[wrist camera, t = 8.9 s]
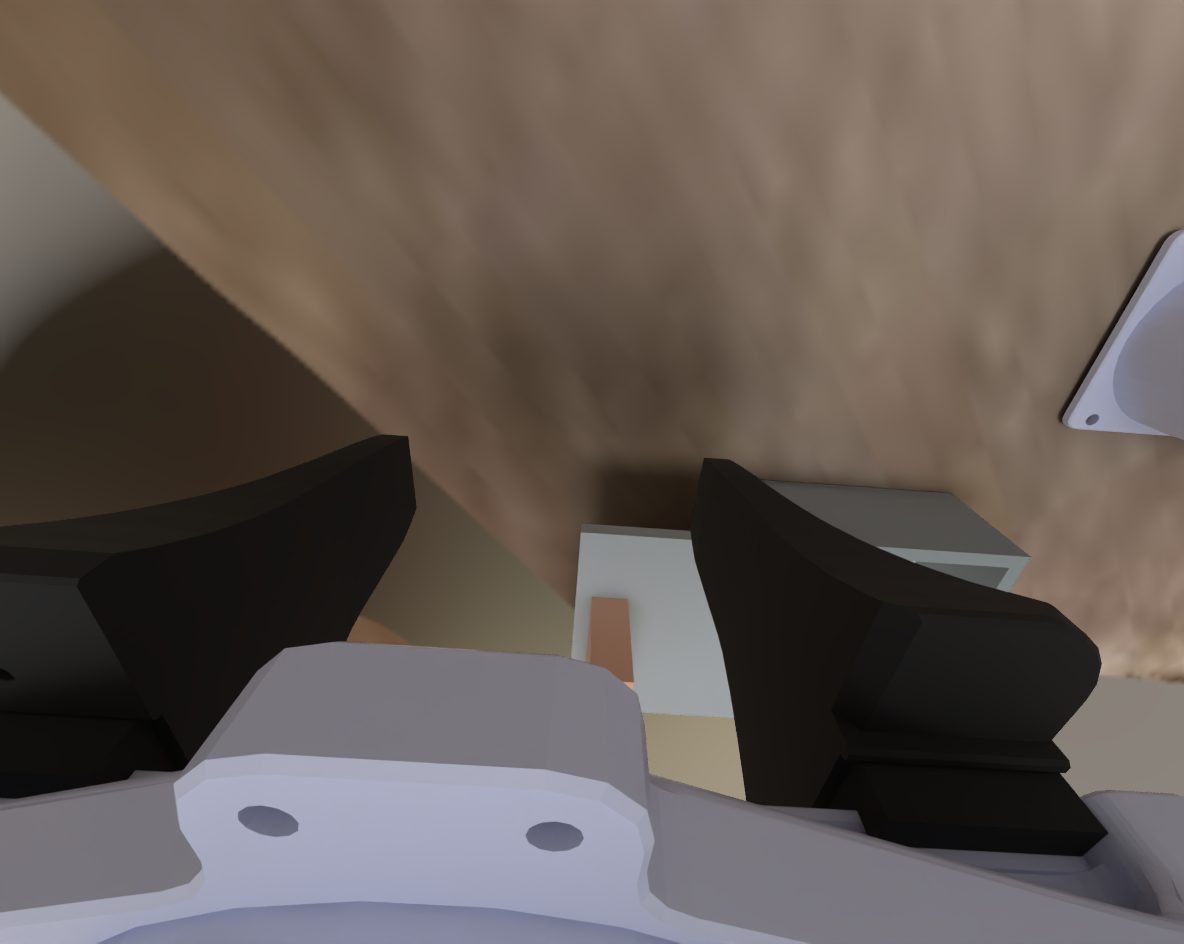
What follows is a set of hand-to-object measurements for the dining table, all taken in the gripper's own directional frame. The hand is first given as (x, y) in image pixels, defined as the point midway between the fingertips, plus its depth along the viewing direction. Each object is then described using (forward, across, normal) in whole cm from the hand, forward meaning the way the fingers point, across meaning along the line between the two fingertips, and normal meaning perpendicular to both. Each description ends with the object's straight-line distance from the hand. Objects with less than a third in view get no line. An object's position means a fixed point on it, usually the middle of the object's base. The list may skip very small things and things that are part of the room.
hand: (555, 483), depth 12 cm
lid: (+5, -6, +10) cm, 13 cm away
